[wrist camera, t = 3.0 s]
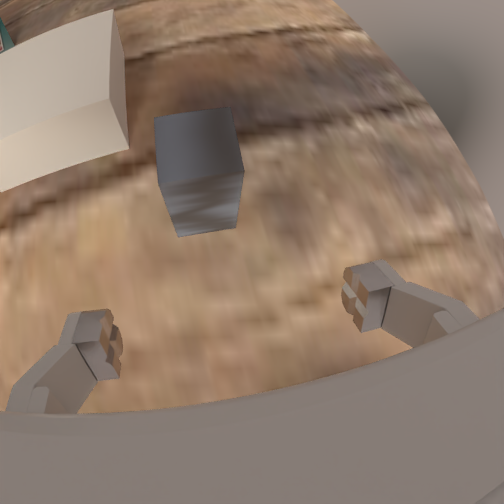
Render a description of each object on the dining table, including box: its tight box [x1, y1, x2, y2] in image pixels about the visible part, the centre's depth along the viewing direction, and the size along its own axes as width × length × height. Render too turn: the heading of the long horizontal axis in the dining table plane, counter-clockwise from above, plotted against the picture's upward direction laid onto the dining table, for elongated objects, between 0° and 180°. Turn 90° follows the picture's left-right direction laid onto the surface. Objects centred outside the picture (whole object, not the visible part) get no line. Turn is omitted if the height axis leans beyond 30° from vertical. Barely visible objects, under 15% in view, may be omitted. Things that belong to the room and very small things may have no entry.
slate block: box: [154, 107, 244, 237], centre depth 23 cm, size 5×5×10 cm
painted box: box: [0, 9, 129, 192], centre depth 26 cm, size 16×16×8 cm
